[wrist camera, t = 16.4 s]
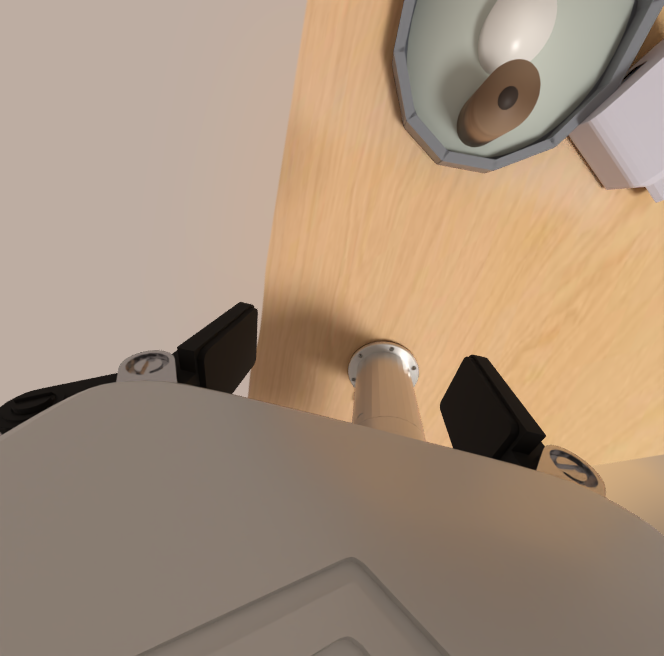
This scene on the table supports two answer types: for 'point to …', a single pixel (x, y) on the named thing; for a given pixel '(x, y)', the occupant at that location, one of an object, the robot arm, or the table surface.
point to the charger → (629, 130)
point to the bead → (499, 103)
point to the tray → (505, 45)
